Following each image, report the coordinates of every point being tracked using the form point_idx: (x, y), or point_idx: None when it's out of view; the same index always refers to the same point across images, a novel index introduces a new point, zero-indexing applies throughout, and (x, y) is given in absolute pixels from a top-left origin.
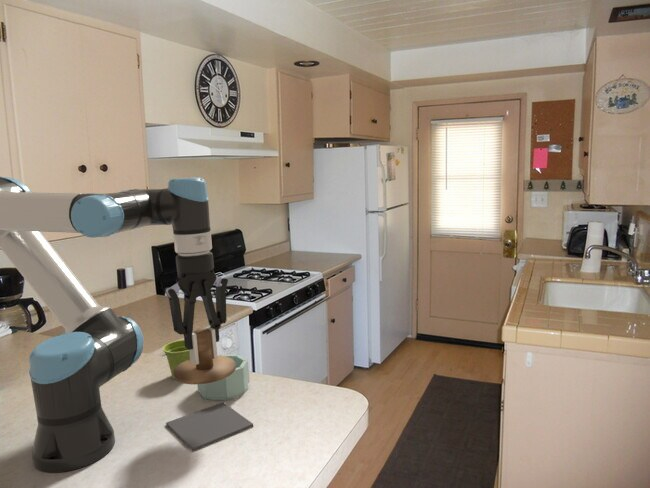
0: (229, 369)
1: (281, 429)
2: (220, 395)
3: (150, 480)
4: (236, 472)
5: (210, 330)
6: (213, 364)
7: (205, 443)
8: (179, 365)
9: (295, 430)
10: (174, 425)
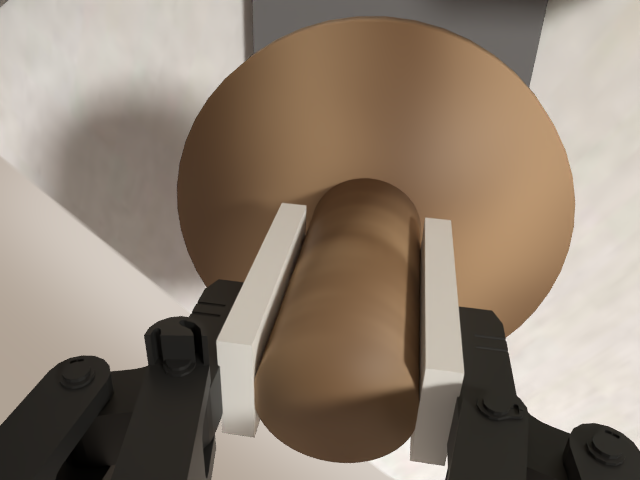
0: None
1: (542, 310)
2: None
3: (112, 239)
4: None
5: (413, 433)
6: None
7: None
8: (254, 72)
9: (565, 345)
10: (270, 8)
